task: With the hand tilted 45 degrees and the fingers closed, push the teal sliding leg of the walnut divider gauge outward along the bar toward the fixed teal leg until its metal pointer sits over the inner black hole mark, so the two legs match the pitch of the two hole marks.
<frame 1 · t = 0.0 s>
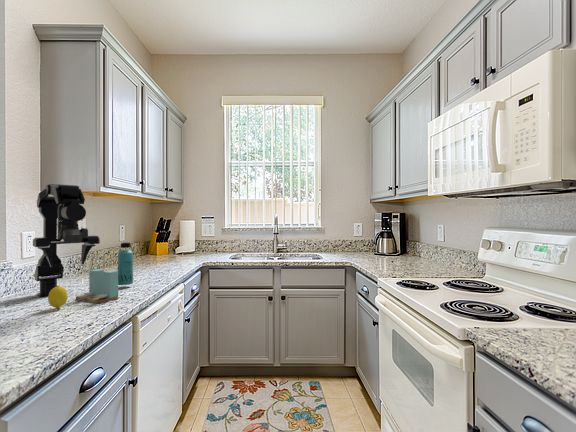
hand: (67, 265, 115), 15 cm above the worktop, tool pointing down, fingers open, 9 cm apart
lemon: (58, 309, 114), on the worktop
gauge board: (97, 299, 127), on the worktop
beverage bottle: (125, 287, 149), on the worktop
fixed leg: (110, 299, 127), resting on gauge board
sliding leg: (92, 282, 129), point 6 cm above the worktop, slide at 0.0 cm
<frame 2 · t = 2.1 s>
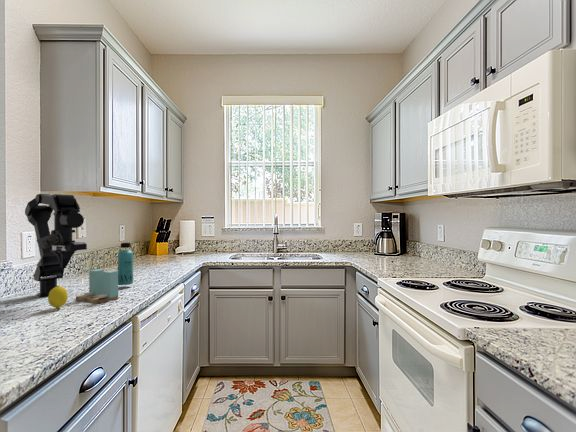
hand: (63, 268, 126), 12 cm above the worktop, tool pointing down, fingers closed
nothing on the worktop moved.
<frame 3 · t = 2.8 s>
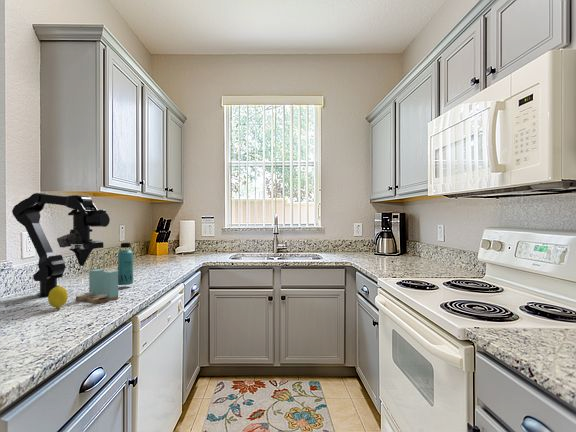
hand: (81, 265, 133), 12 cm above the worktop, tool pointing down, fingers closed
nothing on the worktop moved.
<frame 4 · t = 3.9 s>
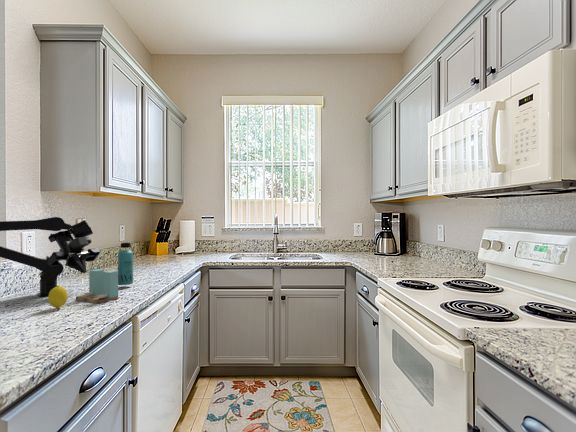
hand: (84, 272, 132), 9 cm above the worktop, tool tilted 45°, fingers closed
nothing on the worktop moved.
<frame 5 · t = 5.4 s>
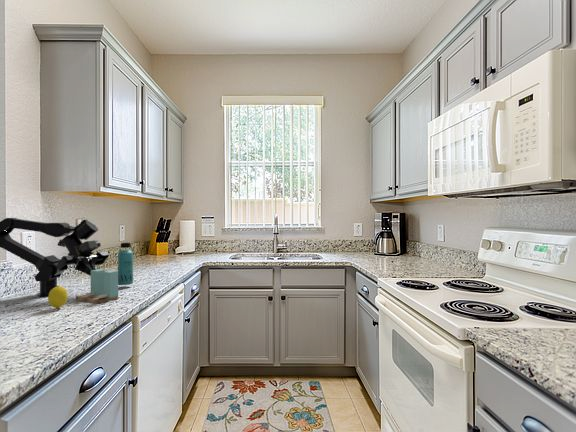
hand: (94, 276, 131), 8 cm above the worktop, tool tilted 45°, fingers closed, pressing on sliding leg
sliding leg: (94, 283, 128), point 6 cm above the worktop, slide at 0.8 cm, touching gripper
everything else where it was.
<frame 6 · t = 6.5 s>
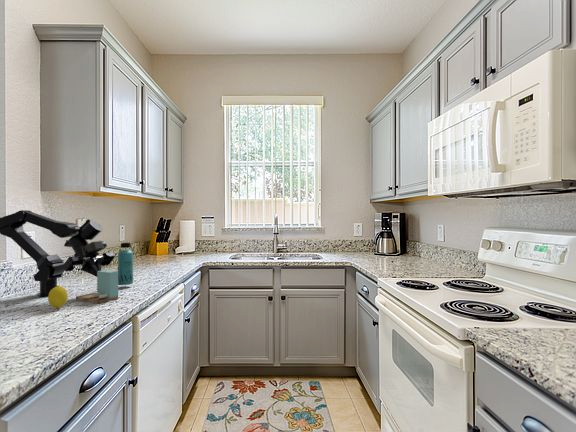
hand: (100, 277, 129), 8 cm above the worktop, tool tilted 45°, fingers closed, pressing on sliding leg
sliding leg: (100, 283, 127), point 6 cm above the worktop, slide at 4.5 cm, touching gripper
everything else where it was.
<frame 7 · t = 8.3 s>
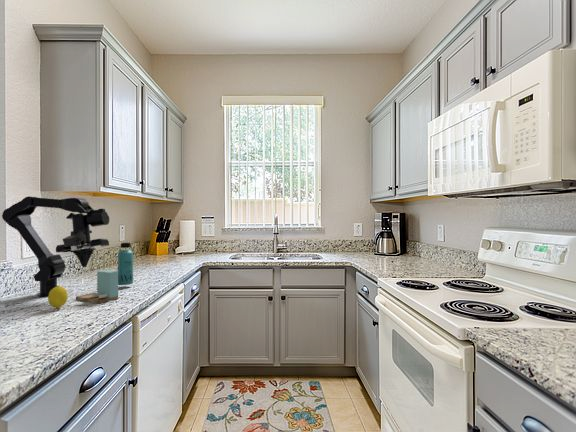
hand: (84, 267, 133), 12 cm above the worktop, tool pointing down, fingers closed
sliding leg: (100, 283, 127), point 6 cm above the worktop, slide at 4.5 cm
everything else where it was.
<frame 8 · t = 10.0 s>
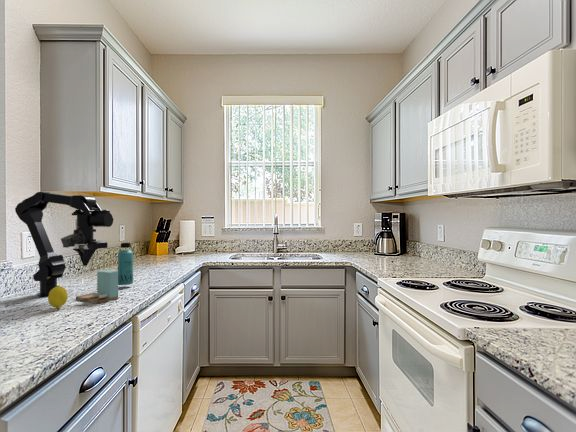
hand: (85, 265, 132), 12 cm above the worktop, tool pointing down, fingers closed
nothing on the worktop moved.
at the end: sliding leg slide at 4.5 cm; sliding leg 3.5 cm from the fixed leg (horizontally) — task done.
